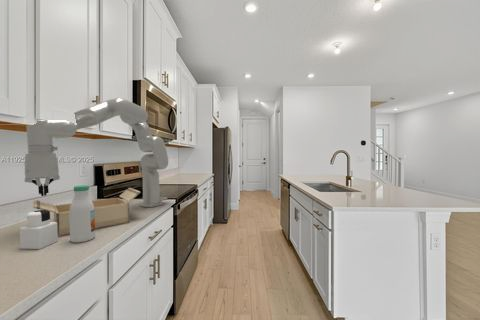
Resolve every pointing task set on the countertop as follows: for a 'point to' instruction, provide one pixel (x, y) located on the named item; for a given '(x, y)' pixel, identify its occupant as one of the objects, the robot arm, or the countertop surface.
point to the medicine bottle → (38, 231)
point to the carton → (105, 214)
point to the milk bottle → (81, 216)
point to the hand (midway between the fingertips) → (43, 195)
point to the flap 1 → (43, 206)
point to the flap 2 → (129, 194)
